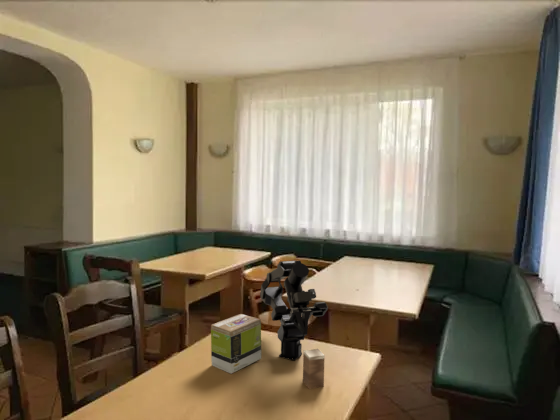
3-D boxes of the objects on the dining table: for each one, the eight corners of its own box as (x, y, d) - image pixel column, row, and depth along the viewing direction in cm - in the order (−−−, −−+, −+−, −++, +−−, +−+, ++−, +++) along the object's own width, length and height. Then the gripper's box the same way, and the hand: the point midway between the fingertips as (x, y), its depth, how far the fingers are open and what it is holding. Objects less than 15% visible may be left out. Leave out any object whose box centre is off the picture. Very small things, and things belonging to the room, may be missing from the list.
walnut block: (308, 388, 131) (309, 357, 130) (302, 381, 136) (303, 350, 135) (323, 386, 133) (324, 355, 132) (317, 378, 137) (318, 348, 136)
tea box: (241, 351, 157) (241, 312, 156) (261, 359, 151) (262, 318, 149) (210, 365, 146) (210, 323, 144) (230, 375, 139) (231, 330, 138)
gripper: (274, 282, 140) (284, 327, 131) (326, 278, 146) (340, 321, 137) (267, 298, 148) (276, 341, 139) (316, 294, 154) (328, 335, 145)
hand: (305, 334), depth 140 cm, fingers closed
